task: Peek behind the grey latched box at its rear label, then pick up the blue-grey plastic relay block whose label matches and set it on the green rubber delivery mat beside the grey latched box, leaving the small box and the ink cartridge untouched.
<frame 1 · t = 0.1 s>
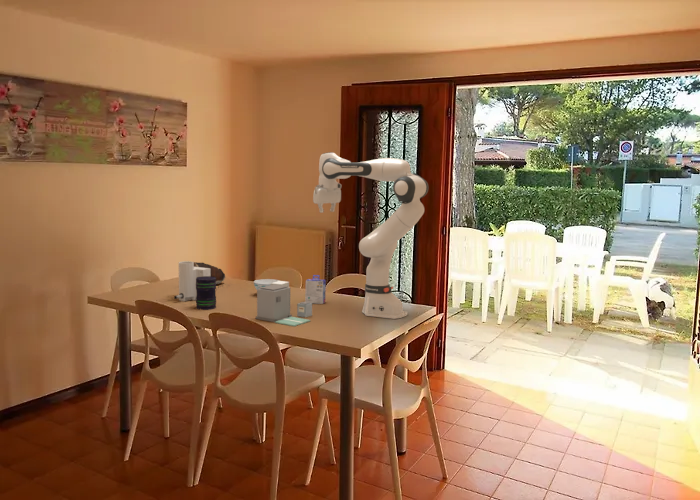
hand: (326, 212, 305), 48 cm above the table, tool pointing down, fingers open, 8 cm apart
grey latched box: (273, 317, 279), on the table
chinaware: (267, 295, 330), on the table
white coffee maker: (187, 300, 314), on the table
clay pot: (207, 286, 353), on the table
delivery mat: (292, 322, 272), on the table
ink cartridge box: (315, 303, 314), on the table
storage jar: (206, 307, 297), on the table
relay block: (304, 315, 285), on the table
small box: (279, 308, 300), on the table
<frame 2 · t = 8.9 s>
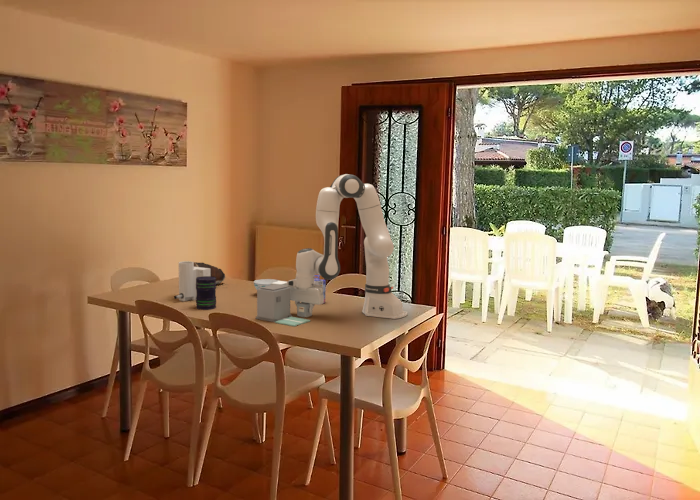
hand: (304, 311, 284), 2 cm above the table, tool pointing down, fingers closed on relay block, 5 cm apart
relay block: (304, 315, 285), on the table, touching gripper
everything else where it was.
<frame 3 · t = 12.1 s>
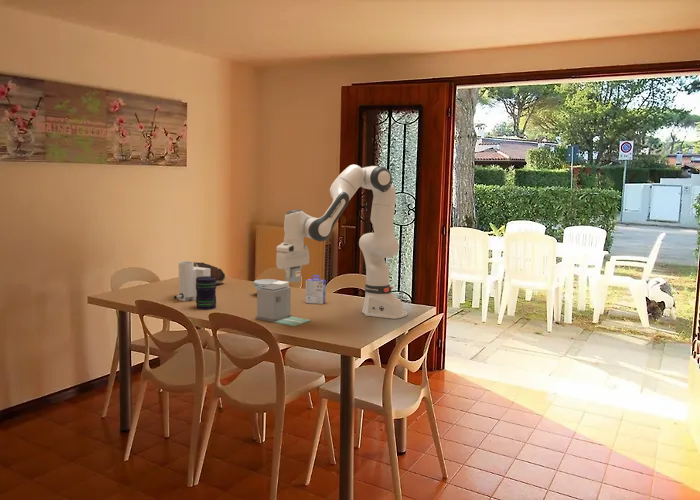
hand: (293, 276, 270), 21 cm above the table, tool pointing down, fingers closed on relay block, 5 cm apart
relay block: (293, 281, 270), point 19 cm above the table, touching gripper
everything else where it was.
when the fingers open (4 cm above the table, at t = 15.6 s): relay block drops 1 cm, resting on delivery mat.
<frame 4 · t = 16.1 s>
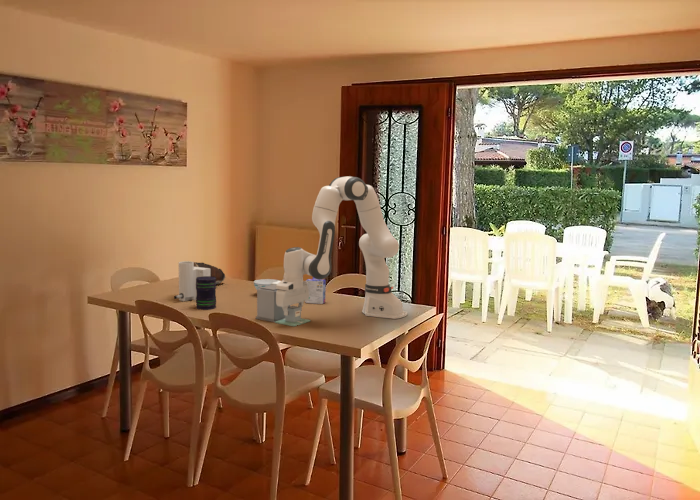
hand: (293, 313, 272), 4 cm above the table, tool pointing down, fingers open, 8 cm apart
relay block: (293, 320, 272), point 1 cm above the table, touching delivery mat
everything else where it was.
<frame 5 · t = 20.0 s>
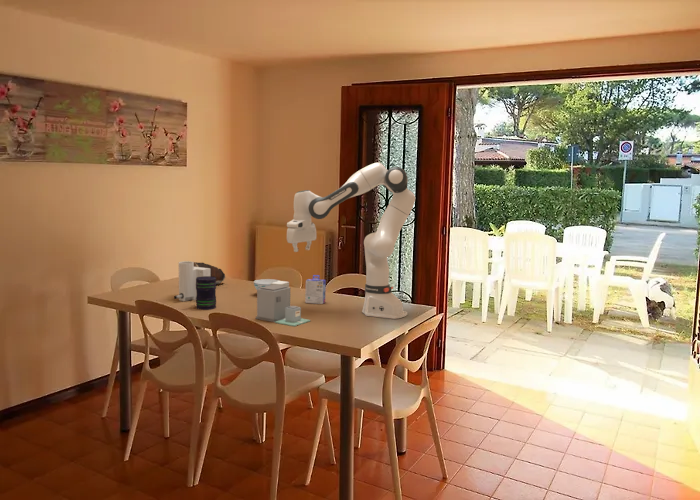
hand: (301, 250, 297), 29 cm above the table, tool pointing down, fingers open, 8 cm apart
nothing on the table moved.
at the end: relay block inside the target area on the delivery mat (0.1 cm from its centre), point 0.7 cm above the delivery mat's base; relay block tilted 0°; the gripper is holding nothing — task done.
